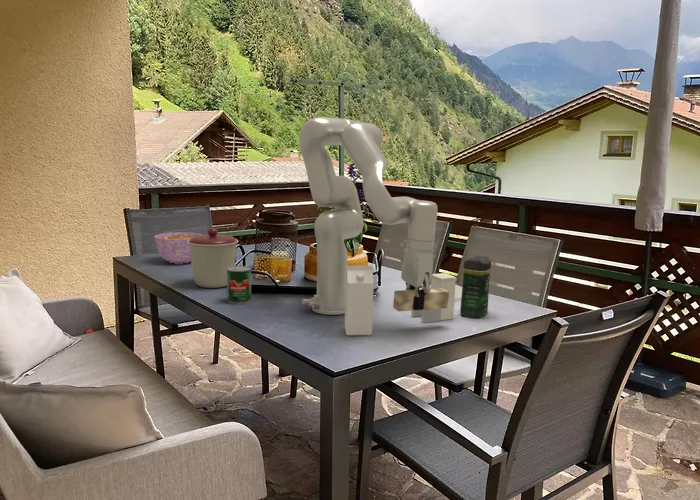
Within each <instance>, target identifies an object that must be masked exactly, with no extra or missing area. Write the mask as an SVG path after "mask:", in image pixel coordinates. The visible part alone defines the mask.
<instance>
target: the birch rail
mask: <svg viewBox="0 0 700 500" xmlns="http://www.w3.org/2000/svg"><path fill="white" fill-rule="evenodd" d="M421 289H422V288H419V291H420V290H421ZM414 296H416V290H406V289H405V290H402V289H401V290H394V294H393V305H392V309H394V310H396V311H397V312H410V311H411V312H412V311H413V302H414ZM448 297H449V291H447V290H445V289H443V288H439V289H431V291H430V292H428V293H427V294H426V297H425V299H424V309H423V310H428V309H442V308H447V306H448Z"/></svg>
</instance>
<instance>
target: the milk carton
mask: <svg viewBox="0 0 700 500" xmlns="http://www.w3.org/2000/svg"><path fill="white" fill-rule="evenodd" d="M373 267H374V266H373V265H347V272H346V290H345V314H344V330H345V333H346V334H345V335H346V336H372V335H373V318H374V317H373V313H374V310H373V309H374V285H375V284H374V274H373V273H374V272H373Z"/></svg>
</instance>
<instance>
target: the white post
mask: <svg viewBox="0 0 700 500" xmlns="http://www.w3.org/2000/svg"><path fill="white" fill-rule="evenodd" d="M457 280H458V279H457V277H456V276H454V275H452V274H449V273H447V272H444V273H442V272H441V273H433V275H432V282H431V285H430V288H431V289H439V288H443V289H445V290H447V291H449V297H448V306H447V308H442V309H428V310H413V311H411V314H410V315H411V317H413V318H417V317H421V322H422V323H424V324H425V323H434V322H441V321H444V320H445V321H446V320H453V319H454V316H455V302H454V300H455V284H457Z"/></svg>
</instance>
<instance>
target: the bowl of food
mask: <svg viewBox="0 0 700 500" xmlns="http://www.w3.org/2000/svg"><path fill="white" fill-rule="evenodd" d="M198 235H203V234H201V233H199V232H187V231H186V232H183V231H181V232H180V231H179V232H178V231H177V232H165V233H159V234H157V235H154V239H155V243H156V247H157V250H158V252H159V253H158V254H159V255H160V257H161V258H162V259H163V260H165V261H166V262H169V263H170V264H172V263H174V265H184V264H183V263H186V264H189V263H191V256H190V249H189V244H188V243H187V241H188V240H190V239H191V238H192V237H194V236H198ZM188 262H189V263H188Z"/></svg>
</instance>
